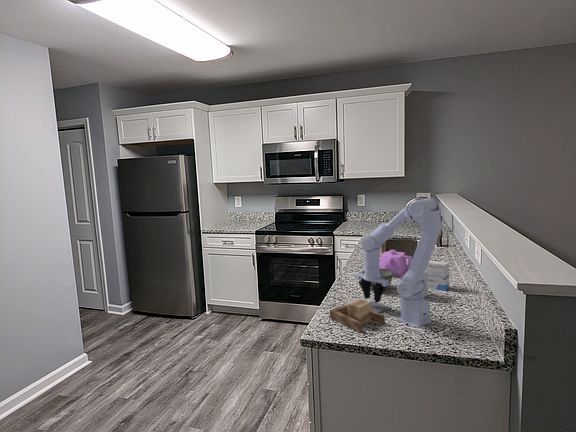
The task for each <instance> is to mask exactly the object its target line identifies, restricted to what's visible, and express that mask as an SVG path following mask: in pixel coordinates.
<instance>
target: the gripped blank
mask: <svg viewBox="0 0 576 432" xmlns="http://www.w3.org/2000/svg"><path fill="white" fill-rule="evenodd" d="M346 305H347V308H348V315H347V316H349V317H351V318H353V319H355V320H358V321H360V322H362V323H363V326H364V325H365V324H368V323H369V322H370V323H371V322H372V320H371V302H370V301H368V300H365V299H362V298H359V299H356V300H354V301H352V302H349V303H347V304H346Z"/></svg>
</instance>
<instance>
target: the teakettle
mask: <svg viewBox="0 0 576 432" xmlns="http://www.w3.org/2000/svg"><path fill="white" fill-rule="evenodd" d="M412 259H413V256H412V255H406V253H405V252H402V251H397V250H396V249H390V250H389V251H384V252H383V253H381V255H380V256H379V268H381V269H387V270H391V271H392V272H393V276H392V277H403V276H404V275H405V274H406V272H407V271H408V270H409V267H410V265H411V262H412Z"/></svg>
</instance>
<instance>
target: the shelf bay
mask: <svg viewBox="0 0 576 432" xmlns="http://www.w3.org/2000/svg"><path fill="white" fill-rule="evenodd" d="M385 317H386V316H385V314H383V313H378V312H375V311H373V310H371V322H372V321H373V322H375V323H377V324H380V325H384V324H385V323H386V322H385V321H386V320H385ZM329 319H331V320H333V321H335V322H336V323H339V324H342V325H343V326H345V327H348V328H349V329H351V330H354V331H356V332H358V333H363V332H364V325H363V323H362V322H360V321H358V320H355V319H353V318H351V317H349V316H348V308H347V304H346V305H343V306H339V307H336V308H334V309H330V310H329Z"/></svg>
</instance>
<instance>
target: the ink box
mask: <svg viewBox="0 0 576 432" xmlns="http://www.w3.org/2000/svg"><path fill="white" fill-rule="evenodd" d="M426 271H428V288H429V289H434V290H440V291H443V292H444V291H445V292H446V291H447V290H449V289H450V263H449V262H446V261H445V262H443V261H435V260H429V263H428V266H427V268H426Z"/></svg>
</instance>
